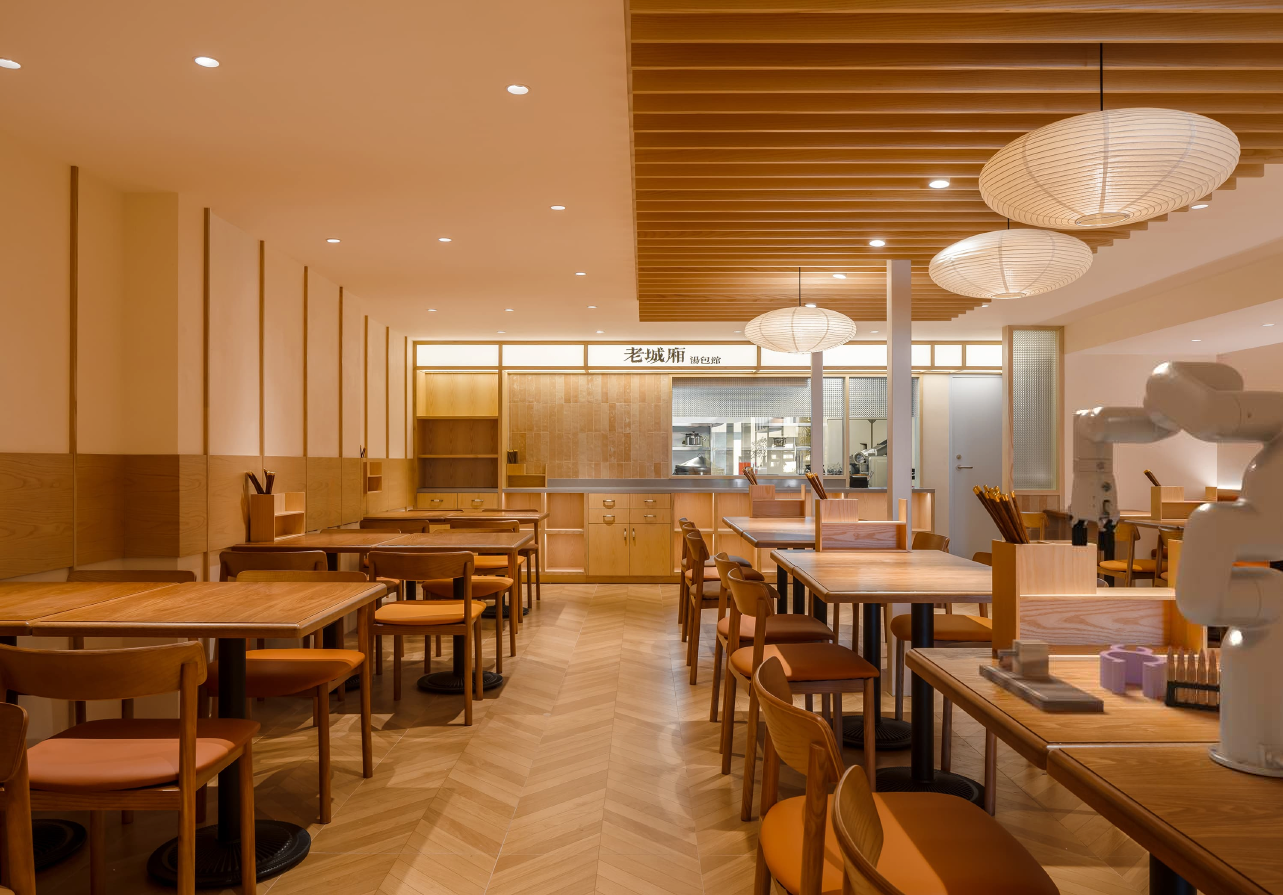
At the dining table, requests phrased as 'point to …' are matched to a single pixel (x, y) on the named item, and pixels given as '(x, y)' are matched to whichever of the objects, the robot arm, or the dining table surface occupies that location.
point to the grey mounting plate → (1041, 689)
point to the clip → (1133, 670)
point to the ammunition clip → (1192, 682)
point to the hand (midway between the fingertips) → (1092, 548)
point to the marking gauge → (1028, 657)
